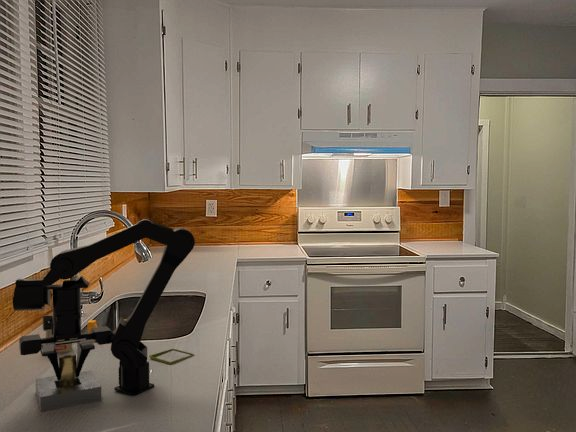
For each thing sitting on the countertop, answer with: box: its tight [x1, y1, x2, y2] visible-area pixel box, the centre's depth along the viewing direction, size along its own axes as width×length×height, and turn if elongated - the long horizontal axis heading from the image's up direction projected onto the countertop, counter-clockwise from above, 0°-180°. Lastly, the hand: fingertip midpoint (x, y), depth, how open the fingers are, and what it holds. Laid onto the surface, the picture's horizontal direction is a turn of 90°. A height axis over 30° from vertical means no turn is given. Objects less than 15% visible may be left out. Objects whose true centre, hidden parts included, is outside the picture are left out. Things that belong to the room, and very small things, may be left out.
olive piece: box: [149, 348, 195, 365], centre depth 141 cm, size 9×9×2 cm
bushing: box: [58, 353, 77, 388], centre depth 116 cm, size 4×4×7 cm
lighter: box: [45, 316, 73, 354], centre depth 148 cm, size 7×4×10 cm, turn 99°
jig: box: [35, 369, 102, 412], centre depth 116 cm, size 12×12×3 cm
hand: (67, 378), depth 116 cm, fingers closed on bushing, 3 cm apart
